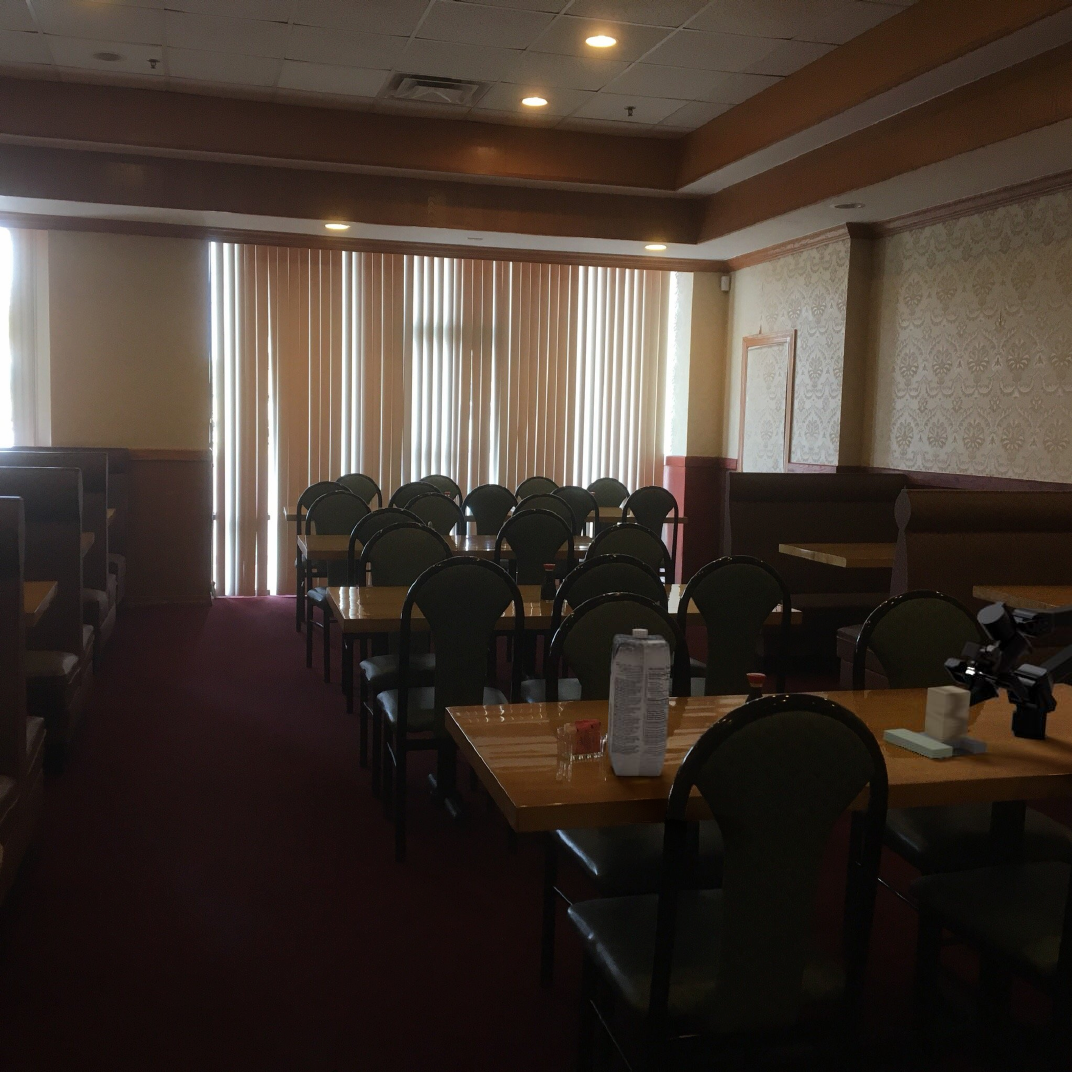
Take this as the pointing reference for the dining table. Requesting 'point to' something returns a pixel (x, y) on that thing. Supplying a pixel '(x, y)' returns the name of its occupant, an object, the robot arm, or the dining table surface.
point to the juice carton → (638, 704)
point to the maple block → (947, 712)
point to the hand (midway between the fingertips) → (961, 707)
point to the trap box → (934, 744)
